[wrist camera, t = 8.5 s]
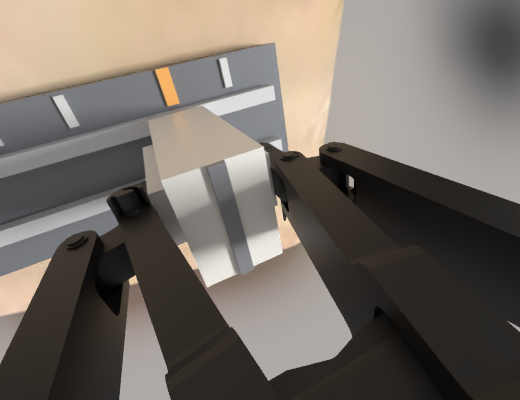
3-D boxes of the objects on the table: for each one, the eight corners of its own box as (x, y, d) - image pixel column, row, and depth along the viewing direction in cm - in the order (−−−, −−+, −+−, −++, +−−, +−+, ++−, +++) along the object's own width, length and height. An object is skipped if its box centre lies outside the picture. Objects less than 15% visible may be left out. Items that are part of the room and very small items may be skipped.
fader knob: (146, 117, 17) (161, 183, 8) (198, 103, 18) (265, 148, 9) (174, 183, 20) (208, 290, 10) (217, 168, 20) (284, 255, 11)
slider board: (-235, 155, 13) (-331, 179, 10) (261, 44, 20) (281, 42, 17) (-69, 284, 19) (-105, 323, 16) (278, 161, 26) (296, 173, 23)
